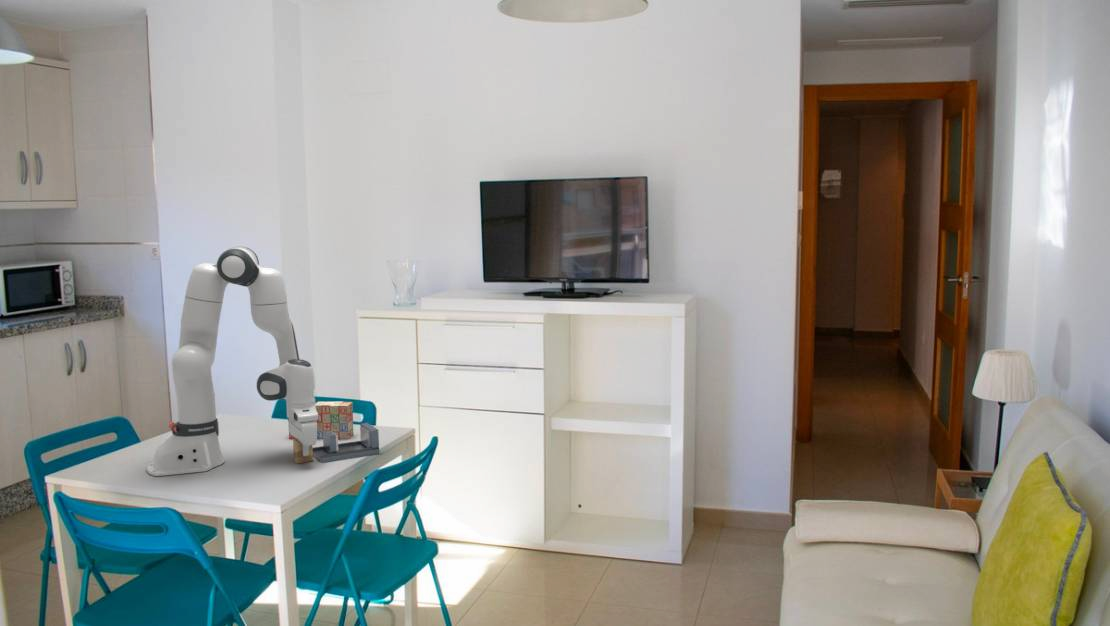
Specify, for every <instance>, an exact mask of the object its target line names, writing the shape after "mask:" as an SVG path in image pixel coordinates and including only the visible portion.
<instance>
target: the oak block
mask: <svg viewBox="0 0 1110 626" xmlns="http://www.w3.org/2000/svg"><path fill="white" fill-rule="evenodd" d="M292 444H293V445H292V447H293V461H294V462H295V463H297V464H301V463H302V464H303V463H308V462H313V461H314V456H313V448H314V447H313V445H311V446H310V447H309V455H308V456H303V455H302V443H301V442H300V441H299V440H297V439H296V438H295V439H292Z"/></svg>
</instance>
